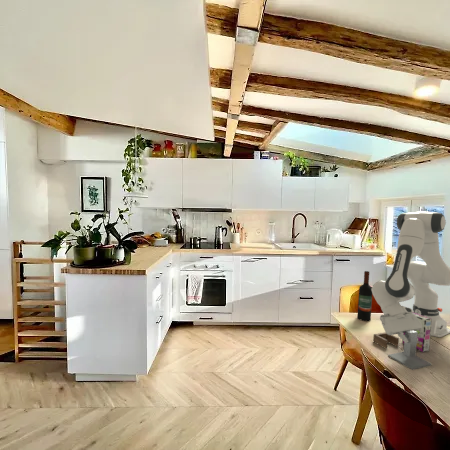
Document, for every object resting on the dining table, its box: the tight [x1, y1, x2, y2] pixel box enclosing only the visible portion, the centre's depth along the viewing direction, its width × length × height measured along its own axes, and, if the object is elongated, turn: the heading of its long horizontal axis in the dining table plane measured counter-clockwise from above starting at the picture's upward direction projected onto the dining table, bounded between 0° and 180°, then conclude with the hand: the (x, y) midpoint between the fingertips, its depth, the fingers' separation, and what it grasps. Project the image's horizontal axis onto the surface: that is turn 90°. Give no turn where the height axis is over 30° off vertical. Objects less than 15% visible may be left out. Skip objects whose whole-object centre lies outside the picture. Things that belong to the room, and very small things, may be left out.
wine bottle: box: [356, 270, 373, 322], centre depth 187 cm, size 8×8×30 cm
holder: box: [372, 331, 400, 349], centre depth 154 cm, size 9×7×4 cm
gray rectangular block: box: [402, 329, 418, 357], centre depth 137 cm, size 4×3×11 cm
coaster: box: [387, 351, 432, 370], centre depth 138 cm, size 12×12×1 cm
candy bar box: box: [401, 313, 432, 353], centre depth 151 cm, size 11×5×16 cm, turn 23°
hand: (411, 341), depth 137 cm, fingers closed on gray rectangular block, 4 cm apart
